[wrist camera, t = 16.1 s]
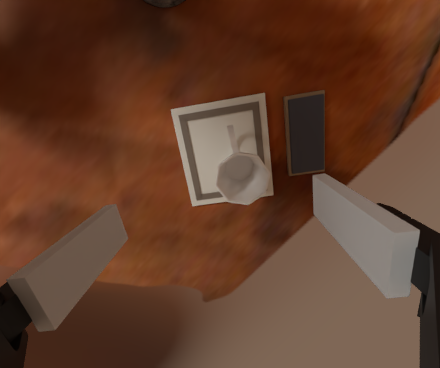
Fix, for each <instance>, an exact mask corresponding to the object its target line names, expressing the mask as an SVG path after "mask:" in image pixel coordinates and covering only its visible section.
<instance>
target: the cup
mask: <svg viewBox="0 0 440 368" xmlns="http://www.w3.org/2000/svg"><path fill="white" fill-rule="evenodd" d="M227 129H228V133H229V138H230V142H231V147H232V151H233V154H231V155H230V156H229V157H227V158H226V159H225V160H223V161H222V162H221V163H220V164H219V165H218V168H217V175H216V182H215V187H216V188H217V189H218V191H219V192H220V193H221V194H222V196H223V197H224V198H225V200H226V201H227V202H230V203H237V204H244V205H249V204H251V203H252V202H254V201H255V200H257V199H258V198H260V197H261V196H263V195H265V194H266V191H267V187H268V182H269V178H270V174H271V173H270V172H269V170H268V169H267V167H266V166H265V165H264V163H263V162H262V160H261V159H260V157H259V156H258V155H254V154H250V153H244V152H239V149H238V145H237V141H236V136H235V132H234V128H233V125H229V126H227Z"/></svg>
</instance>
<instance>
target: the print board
mask: <svg viewBox="0 0 440 368" xmlns="http://www.w3.org/2000/svg"><path fill="white" fill-rule="evenodd" d="M171 113H172V118H173V122H174V127H175V131H176V135H177V140H178V144H179V149H180V153H181V158H182V162H183V167H184V171H185V176H186V180H187V184H188V189H189V193H190V198H191V202H192V206H198V205H205V204H212V203H220V202H227V201H226V200H225V198H224V197H223V196H222V194H221V193H220V192H219V191H218V189H217V188H216V187H215V182H216V175H217V168H218V165H219V164H220V163H221V162H222V161H223V160H225V159H226V158H227V157H229V156H230V155H231V154H233V151H232V147H231V142H230V138H229V133H228V129H227V126H229V125H233V128H234V132H235V136H236V141H237V145H238V149H239V152H244V153H250V154H254V155H258V156H259V157H260V159H261V160H262V162H263V163H264V165H265V166H266V167H267V169H268V170H269V172H270V173H271V174H270V178H269V182H268V187H267V191H266V194H265V195H263V196H261V197H264V196H271V195H274V193H273V182H272V170H271V158H270V147H269V135H268V124H267V112H266V101H265V93H260V94H255V95H249V96H243V97H238V98H232V99H227V100H221V101H215V102H210V103H204V104H199V105H193V106H187V107H182V108H176V109H171Z"/></svg>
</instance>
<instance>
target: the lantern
mask: <svg viewBox="0 0 440 368" xmlns="http://www.w3.org/2000/svg"><path fill="white" fill-rule="evenodd" d="M144 1H145V2H147V3H149V4H151V5H153V6H157V7H172V6H176V5H178V4H180V3H182V2H184V1H185V0H144Z"/></svg>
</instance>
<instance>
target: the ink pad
mask: <svg viewBox="0 0 440 368" xmlns="http://www.w3.org/2000/svg"><path fill="white" fill-rule="evenodd" d="M283 102H284V118H285V135H286V151H287V168H288V175H289V176H295V175H302V174H309V173H316V172H323V171H325V90H320V91H314V92H309V93H303V94H297V95H291V96H286V97H283Z"/></svg>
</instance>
